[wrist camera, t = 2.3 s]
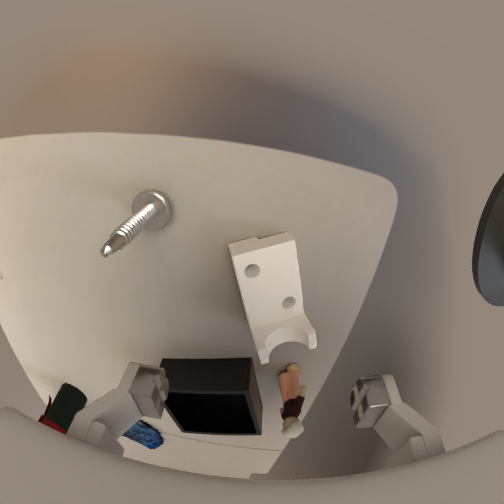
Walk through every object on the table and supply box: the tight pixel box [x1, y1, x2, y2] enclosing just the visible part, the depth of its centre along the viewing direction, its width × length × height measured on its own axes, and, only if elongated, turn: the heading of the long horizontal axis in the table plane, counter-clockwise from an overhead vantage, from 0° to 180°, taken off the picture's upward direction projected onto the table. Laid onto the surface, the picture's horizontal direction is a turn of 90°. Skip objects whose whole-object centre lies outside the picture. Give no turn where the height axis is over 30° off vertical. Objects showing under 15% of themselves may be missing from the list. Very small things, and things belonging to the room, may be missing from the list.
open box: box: [160, 358, 263, 435], centre depth 44 cm, size 16×16×7 cm
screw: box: [100, 190, 171, 258], centre depth 27 cm, size 13×5×5 cm
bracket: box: [228, 232, 317, 364], centre depth 33 cm, size 13×7×8 cm, turn 11°
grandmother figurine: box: [278, 363, 307, 438], centre depth 39 cm, size 8×4×13 cm, turn 170°
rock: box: [121, 421, 163, 449], centre depth 61 cm, size 15×17×2 cm
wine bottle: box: [38, 383, 87, 435], centre depth 43 cm, size 8×10×30 cm
